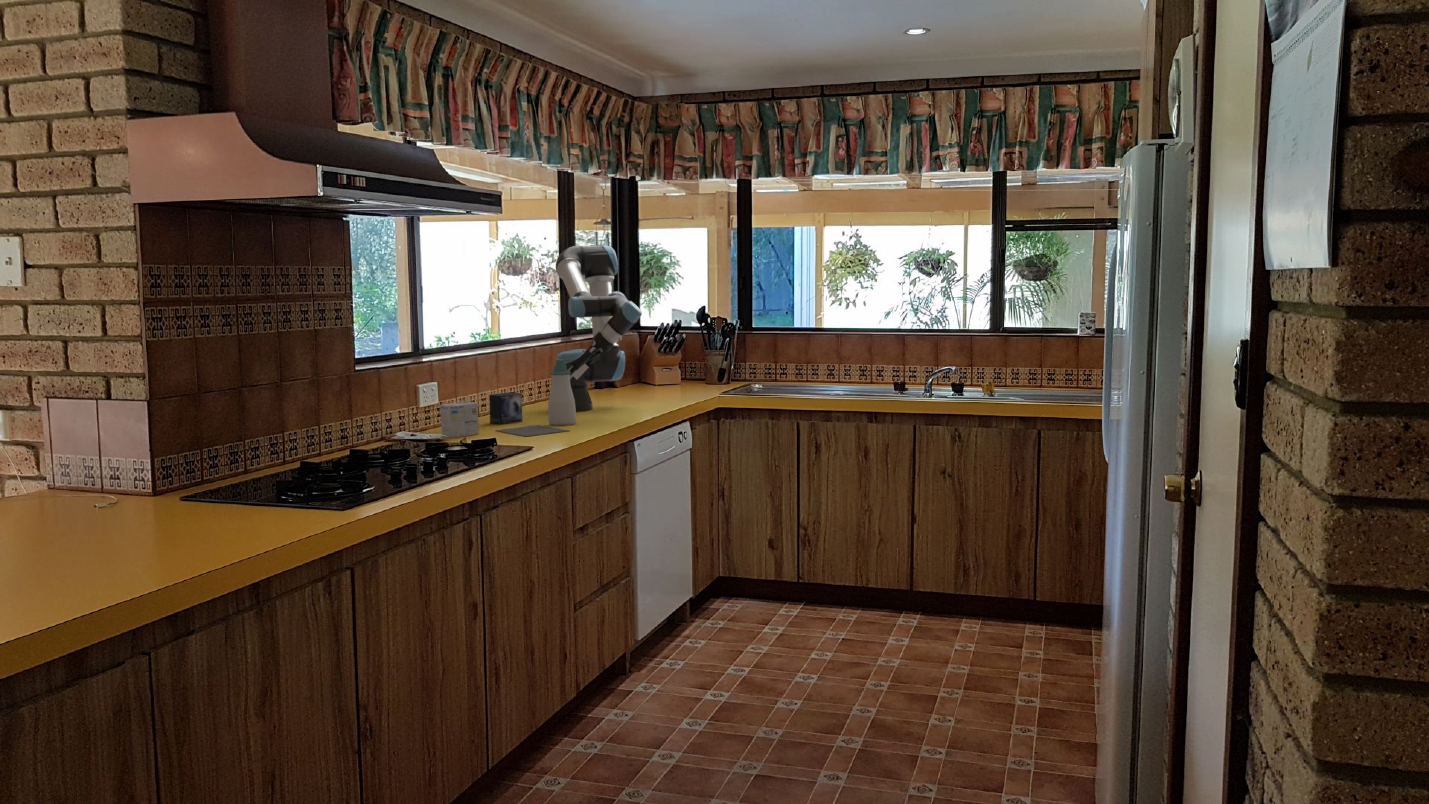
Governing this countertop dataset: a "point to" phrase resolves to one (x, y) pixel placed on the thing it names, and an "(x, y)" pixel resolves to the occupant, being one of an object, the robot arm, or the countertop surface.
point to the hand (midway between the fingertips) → (569, 378)
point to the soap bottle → (561, 397)
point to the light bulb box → (459, 419)
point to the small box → (505, 408)
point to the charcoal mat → (532, 430)
